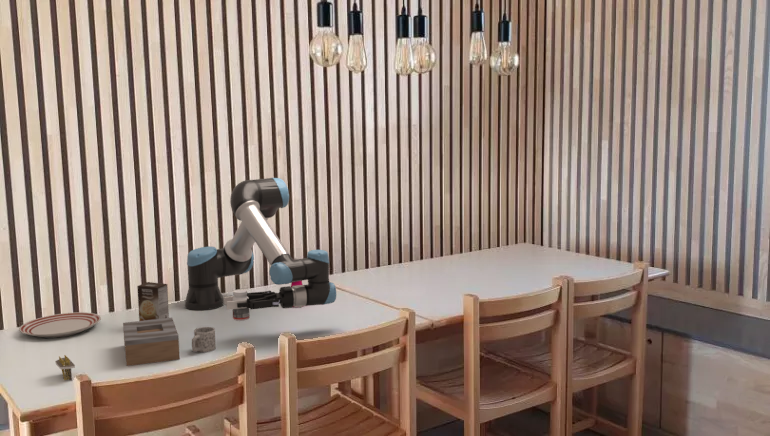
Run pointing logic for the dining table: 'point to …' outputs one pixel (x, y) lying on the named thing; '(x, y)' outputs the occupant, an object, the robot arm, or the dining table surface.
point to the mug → (204, 339)
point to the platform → (67, 367)
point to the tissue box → (150, 341)
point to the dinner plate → (60, 324)
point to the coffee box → (153, 301)
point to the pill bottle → (243, 312)
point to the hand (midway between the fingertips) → (225, 303)
